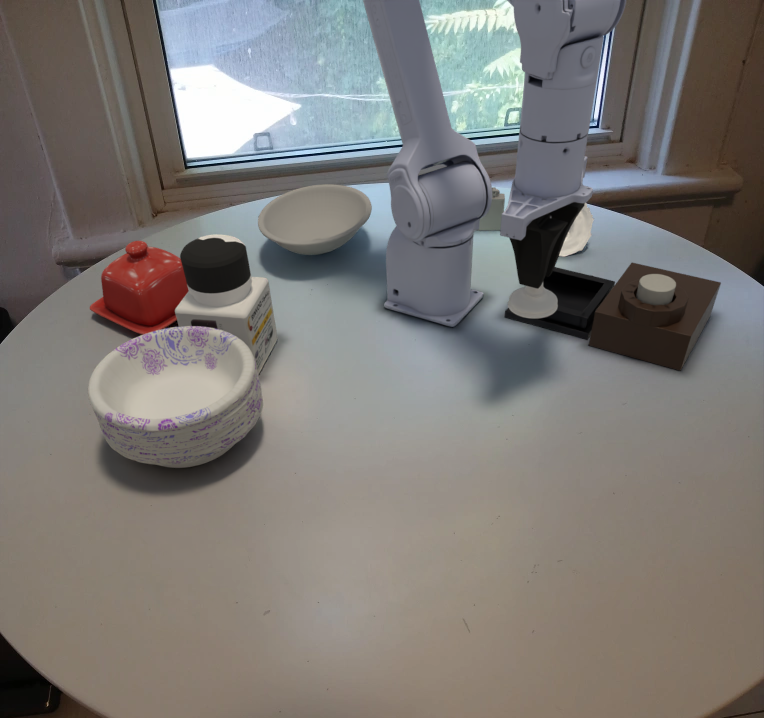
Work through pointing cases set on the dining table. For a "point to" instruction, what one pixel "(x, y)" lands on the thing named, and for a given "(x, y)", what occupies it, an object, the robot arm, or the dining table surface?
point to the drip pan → (571, 302)
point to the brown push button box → (654, 318)
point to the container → (227, 294)
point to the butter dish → (142, 289)
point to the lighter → (493, 212)
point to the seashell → (578, 233)
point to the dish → (315, 218)
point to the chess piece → (533, 302)
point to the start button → (656, 289)
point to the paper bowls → (176, 395)
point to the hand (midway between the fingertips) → (535, 279)
